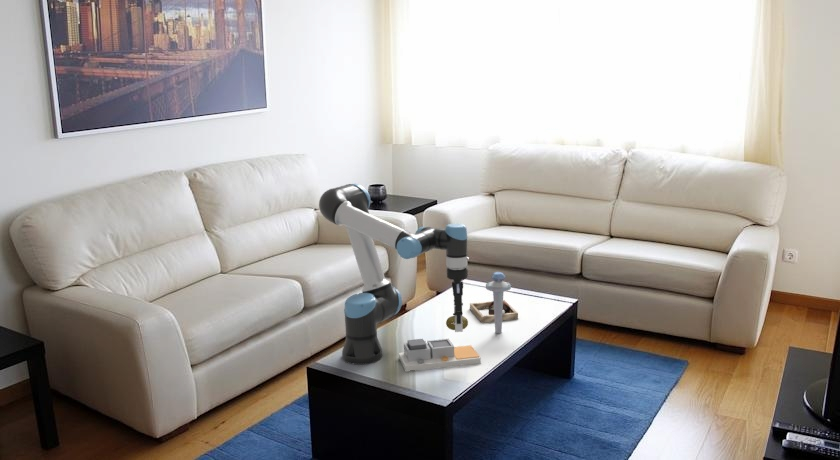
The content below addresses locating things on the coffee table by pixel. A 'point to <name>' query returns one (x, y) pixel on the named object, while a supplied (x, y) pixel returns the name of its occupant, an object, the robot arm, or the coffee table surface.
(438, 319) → the coffee table surface
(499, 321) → the novelty light stick
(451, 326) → the sculpture
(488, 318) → the mug frame
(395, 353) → the coffee table surface
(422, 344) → the block
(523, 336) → the coffee table surface
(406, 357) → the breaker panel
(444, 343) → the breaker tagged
